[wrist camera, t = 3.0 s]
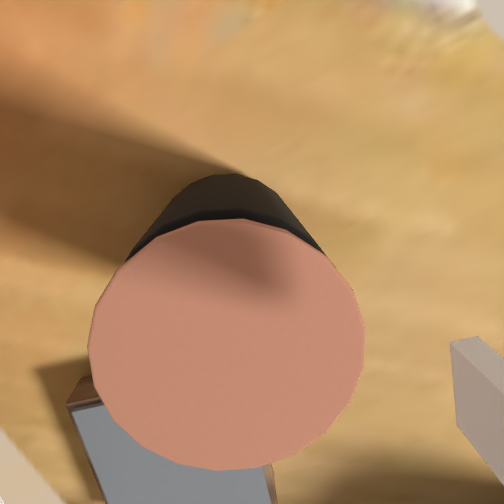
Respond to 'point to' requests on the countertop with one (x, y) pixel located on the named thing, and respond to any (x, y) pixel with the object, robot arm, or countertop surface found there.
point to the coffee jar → (226, 331)
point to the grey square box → (154, 465)
